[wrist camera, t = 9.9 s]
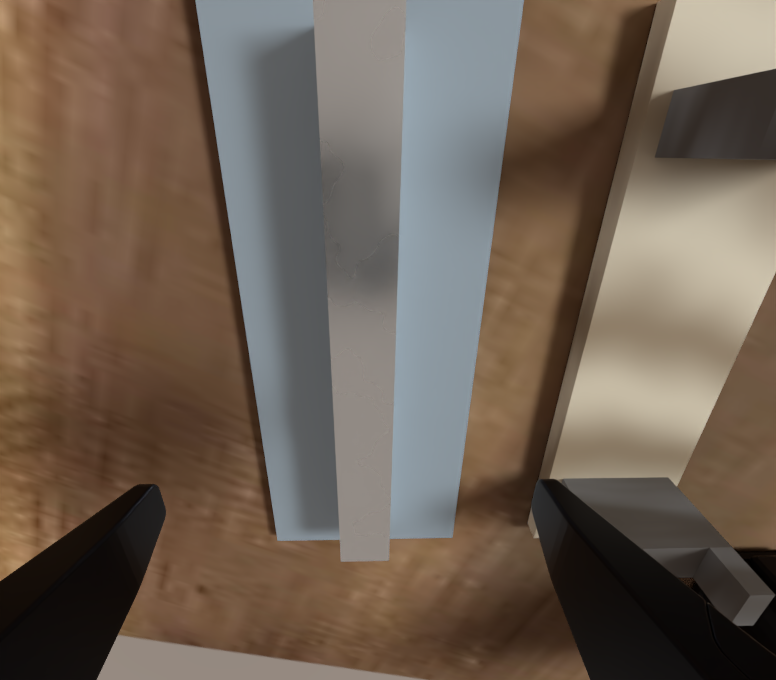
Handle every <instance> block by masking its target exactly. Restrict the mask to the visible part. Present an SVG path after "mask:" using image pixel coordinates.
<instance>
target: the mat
mask: <svg viewBox="0 0 776 680" xmlns="http://www.w3.org/2000/svg"><path fill="white" fill-rule="evenodd" d="M195 1H196V8H197V14H198V21H199V28H200V34H201V41H202V47H203V54H204V60H205V67H206V74H207V80H208V87H209V93H210V100H211V106H212V113H213V120H214V126H215V133H216V139H217V146H218V152H219V159H220V166H221V172H222V179H223V185H224V192H225V199H226V205H227V212H228V218H229V225H230V231H231V238H232V245H233V251H234V258H235V264H236V271H237V277H238V284H239V291H240V297H241V304H242V310H243V317H244V323H245V330H246V337H247V343H248V350H249V356H250V363H251V369H252V376H253V383H254V389H255V396H256V402H257V409H258V415H259V422H260V429H261V435H262V442H263V448H264V455H265V461H266V468H267V475H268V481H269V488H270V494H271V501H272V507H273V514H274V521H275V527H276V534H277V540H278V541H291V540H340V533H339V513H338V494H337V474H336V454H335V434H334V414H333V394H332V374H331V354H330V334H329V314H328V294H327V274H326V255H325V235H324V215H323V195H322V175H321V155H320V135H319V115H318V95H317V75H316V55H315V35H314V16H313V0H195ZM523 3H524V0H406V29H405V61H404V93H403V125H402V157H401V190H400V222H399V254H398V286H397V318H396V350H395V382H394V415H393V447H392V479H391V511H390V539H406V538H452V536H453V529H454V521H455V514H456V506H457V499H458V491H459V484H460V476H461V469H462V461H463V454H464V446H465V439H466V431H467V424H468V416H469V409H470V401H471V394H472V386H473V379H474V371H475V364H476V356H477V349H478V341H479V334H480V326H481V319H482V311H483V303H484V296H485V288H486V281H487V273H488V266H489V258H490V251H491V243H492V236H493V228H494V221H495V213H496V206H497V198H498V191H499V183H500V176H501V168H502V161H503V153H504V146H505V138H506V131H507V123H508V116H509V108H510V101H511V93H512V86H513V78H514V71H515V63H516V56H517V48H518V41H519V33H520V25H521V18H522V10H523Z"/></svg>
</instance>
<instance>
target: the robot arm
mask: <svg viewBox="0 0 776 680" xmlns="http://www.w3.org/2000/svg"><path fill="white" fill-rule="evenodd" d="M531 507H532V514H533V517H534V521H535V525H536V528H537V532H538V535H539V539H540V542H541V546H542V550H543V553H544V557H545V560H546V564H547V567H548V571H549V574H550V577H551V580H552V583H553V585H554V588H555V591H556V593H557V596H558V598H559V601H560V604H561V606H562V609H563V611H564V614H565V616H566V619H567V621H568V624H569V627H570V629H571V632H572V634H573V637H574V639H575V642H576V644H577V647H578V650H579V652H580V655H581V657H582V660H583V662H584V665H585V667H586V670H587V673H588V675H589V678H590V680H776V552H756V553H738V554H739V556H740V557H741V558H742V559H743V560H744V561H745V562H746V563H747V564H748V565H749V567H750V568H751V569H752V570H753V571H754V572H755V573H756V574H757V575H758V576H759V577H760V579H761V580H762V581H763V582H764V583H765V584H766V585H767V586H768V587H769V588H770V590H771V591H772V592H773V593H774V594H775V596H774V598H773V599H772V600H771V602H770V603H769V604H768V606H767V607H766V609H765V610H764V611H763V613H762V614H761V615H760V617H759V618H758V620H757V621H756V622H755V624H754V625H753V626H737V625H736V624H734V623H733V622H732V621H731V620H729V619H728V618H727V617H726V616H724V615H723V614H722V613H721V612H719V611H718V610H717V609H716V608H715V606H714V605H713V604H712V602H711V601H710V600H709V598H708V597H707V596H706V594H705V593H704V592H703V590H702V589H701V588H700V586H699V585H698V584H697V583H696V585H695V586H694V588H693V590H692V589H691V588H690V587H689V586H687V585H686V584H685V583H684V582H682V581H681V580H680V579H679V578H677V577H676V576H675V575H674V574H673V573H671V572H670V571H669V570H668V569H666V568H665V567H664V566H663V565H661V564H660V563H659V562H658V561H657V560H655V559H654V558H653V557H652V556H650V555H649V554H648V553H647V552H645V551H644V550H643V549H642V548H641V547H639V546H638V545H637V544H636V543H634V542H633V541H632V540H631V539H629V538H628V537H627V536H626V535H625V534H623V533H622V532H621V531H620V530H618V529H617V528H616V527H615V526H613V525H612V524H611V523H610V522H609V521H607V520H606V519H605V518H604V517H602V516H601V515H600V514H599V513H597V512H596V511H595V510H594V509H593V508H591V507H590V506H589V505H588V504H586V503H585V502H584V501H583V500H581V499H580V498H579V497H578V496H577V495H575V494H574V493H573V492H572V491H570V490H569V489H568V488H567V487H565V486H564V485H563V484H562V483H561V482H559V481H558V480H556V479H539V480H538V481H537V483H536V487H535V491H534V495H533V499H532V505H531ZM165 515H166V509H165V505H164V502H163V499H162V496H161V493H160V490H159V487H158V486H157V485H155V484H139V485H136V486H134V487H133V488H131V489H130V490H129V491H127V492H126V493H124V494H123V495H121V496H120V497H119V498H117V499H116V500H114V501H113V502H112V503H110V504H109V505H107V506H106V507H105V508H103V509H102V510H100V511H99V512H97V513H96V514H95V515H93V516H92V517H90V518H89V519H88V520H86V521H85V522H83V523H82V524H81V525H79V526H78V527H76V528H75V529H73V530H72V531H71V532H69V533H68V534H66V535H65V536H64V537H62V538H61V539H59V540H58V541H57V542H55V543H54V544H52V545H51V546H49V547H48V548H47V549H45V550H44V551H42V552H41V553H40V554H38V555H37V556H35V557H34V558H33V559H31V560H30V561H28V562H27V563H25V564H24V565H23V566H21V567H20V568H18V569H17V570H16V571H14V572H13V573H11V574H10V575H9V576H7V577H6V578H4V579H3V580H1V581H0V680H97V678H98V675H99V673H100V671H101V669H102V667H103V665H104V663H105V661H106V659H107V656H108V654H109V652H110V650H111V648H112V646H113V644H114V642H115V640H116V637H117V635H118V633H119V631H120V629H121V627H122V625H123V623H124V621H125V618H126V616H127V614H128V612H129V610H130V608H131V606H132V604H133V601H134V599H135V597H136V595H137V593H138V590H139V588H140V586H141V583H142V581H143V578H144V575H145V573H146V570H147V567H148V564H149V561H150V559H151V556H152V553H153V550H154V548H155V545H156V542H157V539H158V537H159V534H160V531H161V528H162V525H163V523H164V520H165Z"/></svg>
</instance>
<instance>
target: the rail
mask: <svg viewBox="0 0 776 680" xmlns="http://www.w3.org/2000/svg"><path fill="white" fill-rule="evenodd" d="M313 16H314V35H315V55H316V75H317V95H318V115H319V135H320V155H321V175H322V195H323V215H324V235H325V255H326V274H327V294H328V314H329V334H330V354H331V374H332V394H333V414H334V434H335V454H336V474H337V494H338V513H339V533H340V553H341V562H346V561H389V543H390V511H391V479H392V447H393V415H394V382H395V350H396V318H397V286H398V254H399V222H400V190H401V157H402V125H403V93H404V61H405V29H406V0H313Z"/></svg>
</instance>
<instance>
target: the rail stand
mask: <svg viewBox="0 0 776 680" xmlns="http://www.w3.org/2000/svg"><path fill="white" fill-rule="evenodd" d="M775 272H776V0H661V1H659V2H657V5H656V9H655V13H654V17H653V21H652V26H651V30H650V34H649V38H648V42H647V46H646V50H645V54H644V58H643V62H642V66H641V70H640V74H639V78H638V82H637V86H636V90H635V94H634V98H633V102H632V106H631V110H630V114H629V118H628V122H627V126H626V130H625V134H624V138H623V142H622V146H621V150H620V154H619V158H618V162H617V166H616V170H615V174H614V178H613V182H612V186H611V190H610V194H609V198H608V202H607V206H606V210H605V214H604V218H603V222H602V226H601V230H600V234H599V238H598V242H597V246H596V250H595V254H594V258H593V262H592V266H591V270H590V274H589V278H588V282H587V286H586V290H585V294H584V298H583V302H582V306H581V310H580V314H579V318H578V322H577V326H576V330H575V334H574V338H573V342H572V346H571V350H570V354H569V358H568V362H567V366H566V370H565V374H564V378H563V382H562V386H561V390H560V394H559V398H558V402H557V406H556V410H555V414H554V418H553V422H552V426H551V430H550V435H549V439H548V443H547V447H546V451H545V455H544V459H543V463H542V467H541V471H540V475H539V479H556V480H558V481H559V482H561V483H562V484H563V485H564V486H565V487H567V488H568V489H569V490H570V491H572V492H573V493H574V494H575V495H577V496H578V497H579V498H580V499H581V500H583V501H584V502H585V503H586V504H588V505H589V506H590V507H591V508H593V509H594V510H595V511H596V512H597V513H599V514H600V515H601V516H602V517H604V518H605V519H606V520H607V521H609V522H610V523H611V524H612V525H613V526H615V527H616V528H617V529H618V530H620V531H621V532H622V533H623V534H625V535H626V536H627V537H628V538H629V539H631V540H632V541H633V542H634V543H636V544H637V545H638V546H639V547H641V548H642V549H643V550H644V551H645V552H647V553H648V554H649V555H650V556H652V557H653V558H654V559H655V560H657V561H658V562H659V563H660V564H661V565H663V566H664V567H665V568H666V569H668V570H669V571H670V572H671V573H673V574H674V575H675V576H676V577H677V578H692V577H693V579H694V580H695V581H696V583H697V584H698V585H699V586H700V588H701V589H702V590H703V592H704V593H705V594H706V596H707V597H708V598H709V600H710V601H711V602H712V604H713V605H714V606H715V608H716V609H717V610H718V611H719V612H721V613H722V614H723V615H724V616H726V617H727V618H728V619H729V620H731V621H732V622H733V623H734V624H736V625H737V626H753V625H754V624H755V622H756V621H757V620H758V618H759V617H760V615H761V614H762V613H763V611H764V610H765V609H766V607H767V606H768V604H769V603H770V602H771V600H772V599H773V598H774V596H775V594H774V593H773V592H772V591H771V590H770V588H769V587H768V586H767V585H766V584H765V583H764V582H763V581H762V580H761V579H760V577H759V576H758V575H757V574H756V573H755V572H754V571H753V570H752V569H751V568H750V567H749V565H748V564H747V563H746V562H745V561H744V560H743V559H742V558H741V557H740V556H739V554H738V553H737V552H736V551H735V550H734V549H733V548H732V547H731V546H730V545H729V543H728V542H727V541H726V540H725V539H724V538H723V537H722V536H721V535H720V534H719V532H718V531H717V530H716V529H715V528H714V527H713V526H712V525H711V524H710V523H709V522H708V520H707V519H706V518H705V517H704V516H703V515H702V514H701V513H700V512H699V511H698V509H697V508H696V507H695V506H694V505H693V504H692V503H691V502H690V501H689V500H688V498H687V497H686V496H685V495H684V494H683V493H682V492H681V491H680V490H679V489H678V487H677V485H678V483H679V481H680V479H681V477H682V474H683V472H684V470H685V468H686V466H687V464H688V461H689V459H690V457H691V455H692V453H693V450H694V448H695V446H696V444H697V442H698V440H699V437H700V435H701V433H702V431H703V429H704V427H705V424H706V422H707V420H708V418H709V416H710V414H711V411H712V409H713V407H714V405H715V403H716V401H717V398H718V396H719V394H720V392H721V390H722V387H723V385H724V383H725V381H726V379H727V377H728V374H729V372H730V370H731V368H732V366H733V364H734V361H735V359H736V357H737V355H738V353H739V351H740V348H741V346H742V344H743V342H744V340H745V338H746V335H747V333H748V331H749V329H750V327H751V324H752V322H753V320H754V318H755V316H756V314H757V311H758V309H759V307H760V305H761V303H762V301H763V298H764V296H765V294H766V292H767V290H768V288H769V285H770V283H771V281H772V279H773V277H774V275H775ZM539 479H538V480H539ZM528 526H529V528H530V530H531V533H532V535H533V538H539V535H538V532H537V528H536V525H535V521H534V517H533V514H532V507H531V511H530V515H529V519H528Z"/></svg>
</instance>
